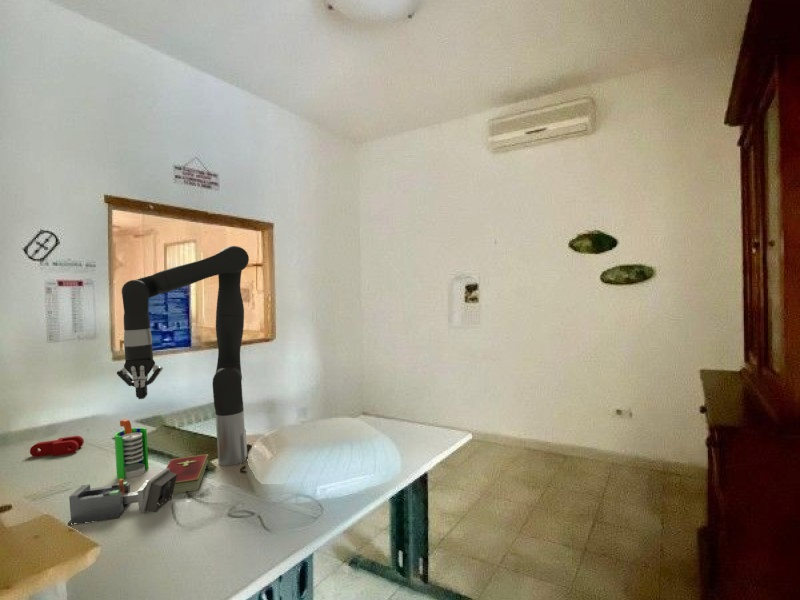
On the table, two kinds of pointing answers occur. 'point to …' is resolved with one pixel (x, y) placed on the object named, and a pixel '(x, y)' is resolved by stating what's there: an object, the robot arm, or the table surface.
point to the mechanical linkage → (57, 446)
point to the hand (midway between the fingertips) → (141, 398)
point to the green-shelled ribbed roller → (131, 451)
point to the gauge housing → (97, 503)
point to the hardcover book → (188, 472)
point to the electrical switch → (158, 491)
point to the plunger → (133, 494)
